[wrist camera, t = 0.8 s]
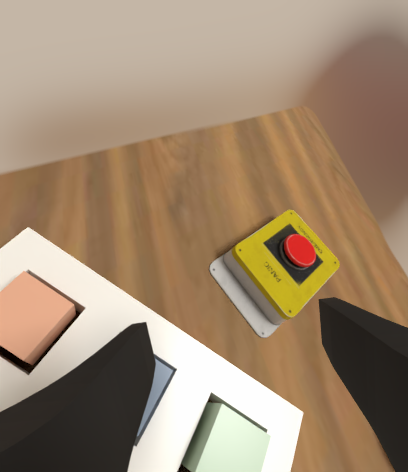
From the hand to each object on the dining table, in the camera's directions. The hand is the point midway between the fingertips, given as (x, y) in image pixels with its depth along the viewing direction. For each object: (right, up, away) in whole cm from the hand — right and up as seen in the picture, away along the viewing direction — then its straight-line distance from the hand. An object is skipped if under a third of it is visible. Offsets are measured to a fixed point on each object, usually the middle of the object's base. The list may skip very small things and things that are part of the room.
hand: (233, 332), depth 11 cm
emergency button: (+7, 0, +21) cm, 22 cm away
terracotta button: (-13, -2, +8) cm, 16 cm away
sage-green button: (0, -11, +8) cm, 14 cm away
